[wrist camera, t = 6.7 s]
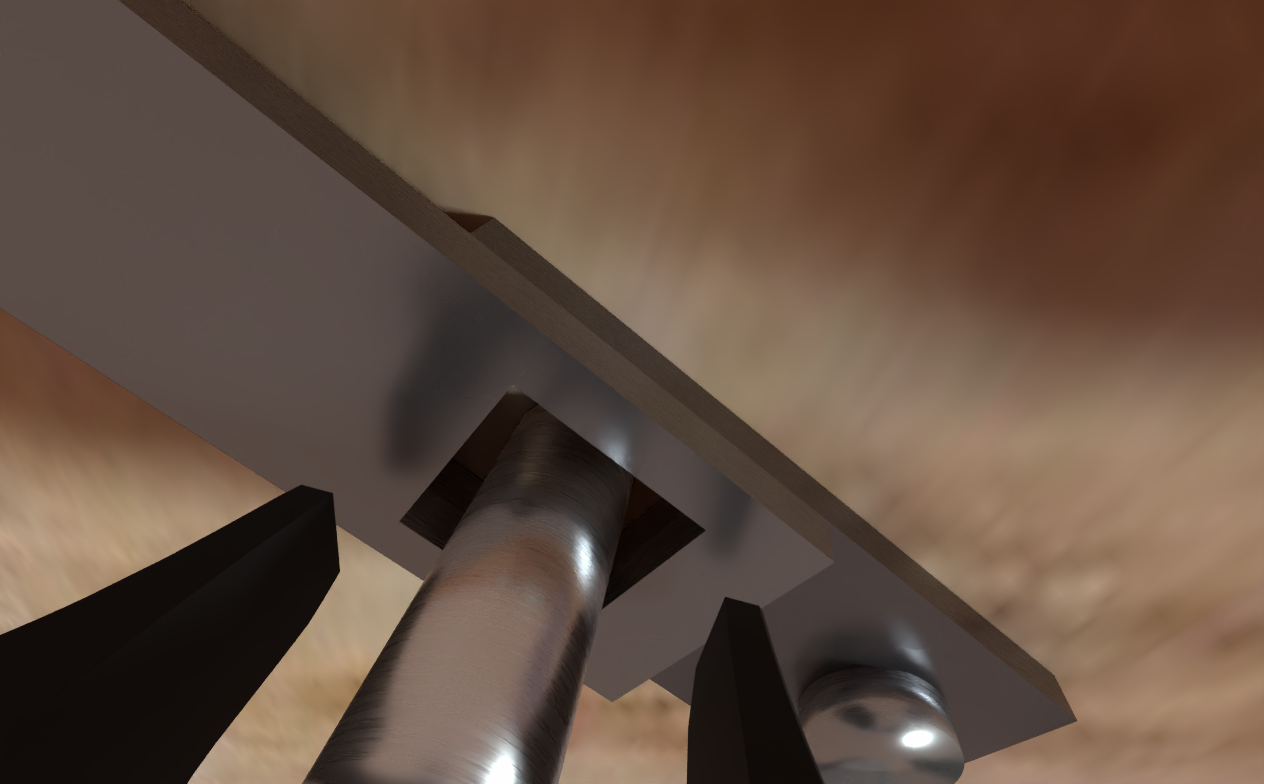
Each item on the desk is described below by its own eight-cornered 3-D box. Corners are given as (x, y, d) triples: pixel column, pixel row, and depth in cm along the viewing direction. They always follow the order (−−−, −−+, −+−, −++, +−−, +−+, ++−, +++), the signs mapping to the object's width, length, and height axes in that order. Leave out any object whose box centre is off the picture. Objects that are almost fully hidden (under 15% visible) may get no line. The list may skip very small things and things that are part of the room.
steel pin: (649, 418, 13) (553, 811, 6) (623, 515, 15) (522, 918, 8) (520, 384, 13) (286, 736, 6) (508, 485, 15) (308, 855, 8)
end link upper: (819, 484, 13) (834, 562, 11) (628, 622, 17) (612, 702, 15) (72, -127, 10) (-108, -178, 8) (17, 203, 13) (-120, 231, 11)
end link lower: (1054, 675, 15) (1104, 773, 13) (838, 766, 18) (851, 855, 16) (494, 217, 11) (440, 252, 9) (351, 432, 15) (287, 493, 13)
